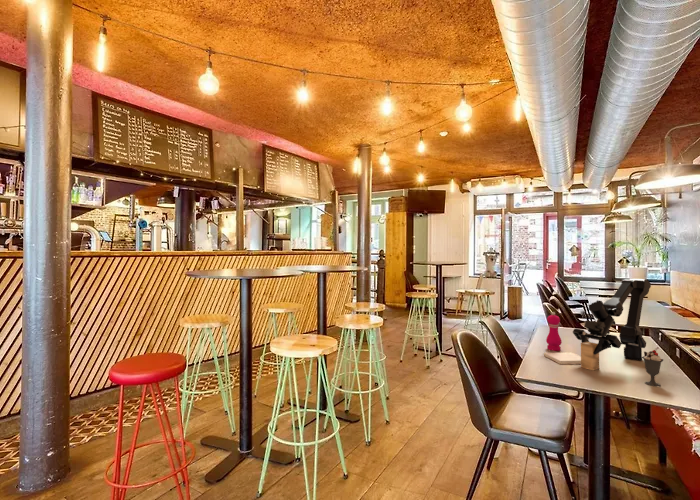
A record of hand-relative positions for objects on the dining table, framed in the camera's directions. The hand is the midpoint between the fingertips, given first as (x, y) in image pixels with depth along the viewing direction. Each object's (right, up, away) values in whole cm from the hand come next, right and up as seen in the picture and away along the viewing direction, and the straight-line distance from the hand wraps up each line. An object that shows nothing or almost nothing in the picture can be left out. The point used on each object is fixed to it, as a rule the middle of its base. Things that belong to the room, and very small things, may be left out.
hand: (587, 352), depth 165 cm
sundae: (+12, -7, -20) cm, 25 cm away
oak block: (+1, -7, +1) cm, 7 cm away
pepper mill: (+3, -8, +32) cm, 33 cm away
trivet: (-2, -7, +14) cm, 15 cm away
